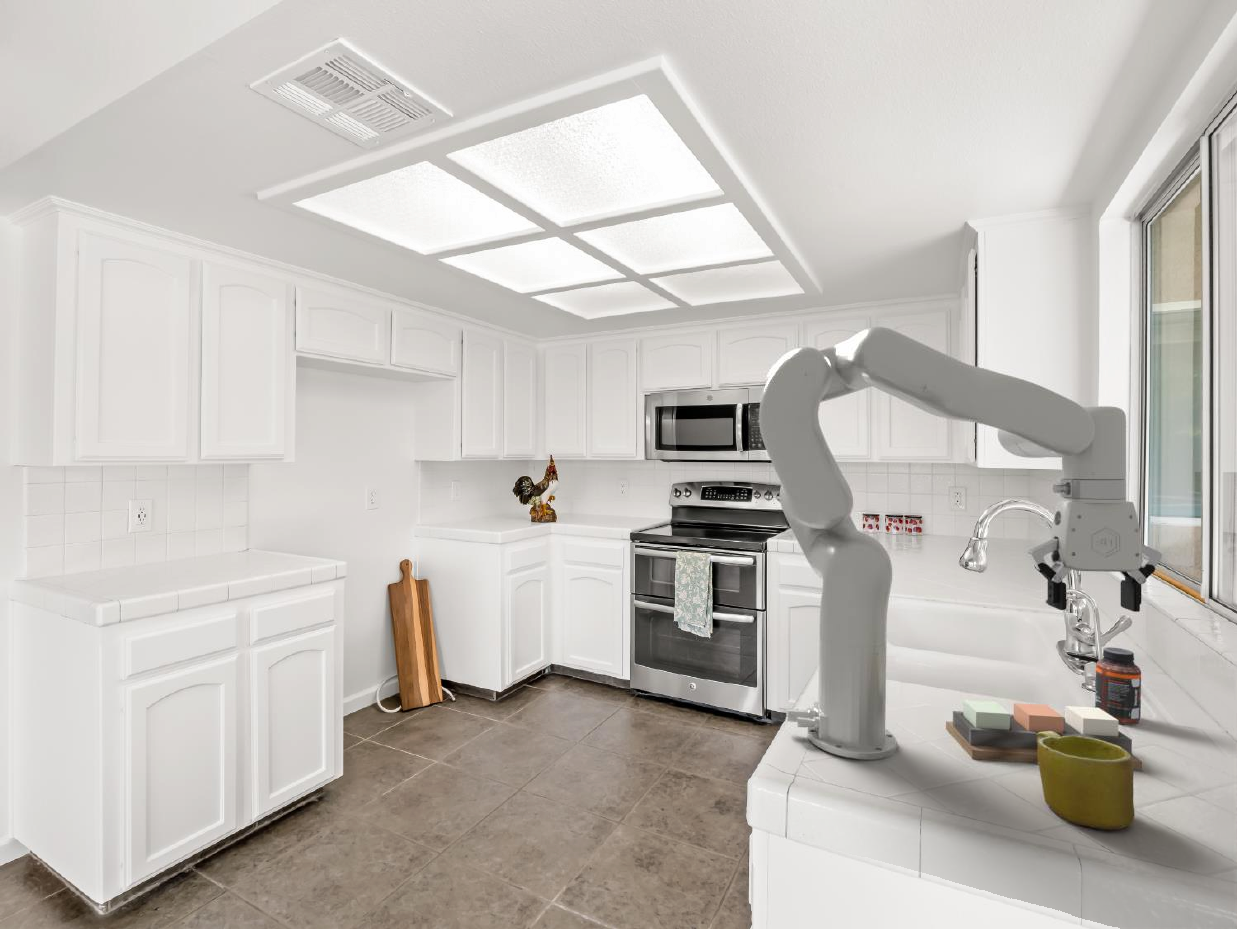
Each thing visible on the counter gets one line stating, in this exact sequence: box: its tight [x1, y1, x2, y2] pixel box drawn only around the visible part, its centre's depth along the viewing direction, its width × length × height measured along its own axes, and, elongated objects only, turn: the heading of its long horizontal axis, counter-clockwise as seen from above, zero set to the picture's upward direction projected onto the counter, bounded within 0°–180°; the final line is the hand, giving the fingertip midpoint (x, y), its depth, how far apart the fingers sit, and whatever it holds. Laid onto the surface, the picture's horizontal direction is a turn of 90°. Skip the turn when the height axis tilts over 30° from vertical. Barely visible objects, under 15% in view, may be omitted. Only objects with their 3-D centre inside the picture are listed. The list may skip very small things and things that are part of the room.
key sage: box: [962, 699, 1011, 730], centre depth 95 cm, size 5×5×2 cm
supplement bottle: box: [1094, 646, 1142, 725], centre depth 105 cm, size 6×6×11 cm
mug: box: [1037, 731, 1135, 830], centre depth 78 cm, size 12×10×10 cm
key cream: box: [1064, 705, 1119, 737], centre depth 93 cm, size 5×5×2 cm
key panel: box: [945, 710, 1143, 771], centre depth 94 cm, size 22×10×4 cm, turn 82°
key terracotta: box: [1013, 702, 1065, 733], centre depth 94 cm, size 5×5×2 cm
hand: (1093, 608), depth 93 cm, fingers open, 9 cm apart
